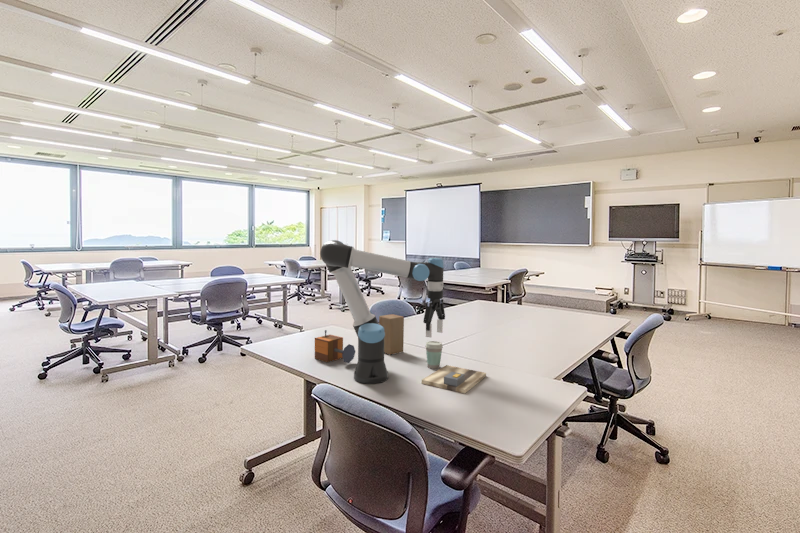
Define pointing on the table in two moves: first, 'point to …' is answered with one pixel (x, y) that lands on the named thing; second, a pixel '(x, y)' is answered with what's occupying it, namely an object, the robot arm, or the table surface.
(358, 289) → the robot arm
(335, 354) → the wooden box with disc
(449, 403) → the table surface
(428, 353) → the coffee cup
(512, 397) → the table surface
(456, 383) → the block
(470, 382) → the plywood panel
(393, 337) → the wooden block
